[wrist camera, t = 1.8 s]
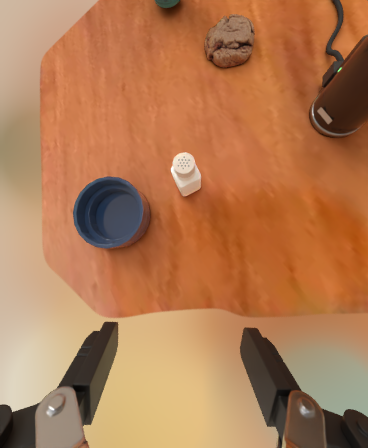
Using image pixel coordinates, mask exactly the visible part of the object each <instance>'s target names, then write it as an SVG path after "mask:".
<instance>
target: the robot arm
mask: <svg viewBox="0 0 368 448" xmlns="http://www.w3.org/2000/svg"><path fill="white" fill-rule="evenodd" d="M332 1H333V2H334V4H335V6H336V9H337V12H338V24H337V27H336V29H335V31H334V33H333V34H332V36H331V38H330V39H329V41H328V44H327V48H326V52H327V54H328V55H331V56H334V57H335V58H336V60H337V61H334V62H333V64H332V65H331V66H330V68H329V69H328V70H327V72H326V73H325V74H324V76H323V81H322V87H323V88H322V89H321V90H320V92H319V95H318V96H317V98H316V99H315V100H314V101H313V103H312V105H311V107H310V112H309V116H310V120H311V123H312V125H313V126H314V128H315V129H316V130H317V131H319V132H320V133H322V134H323V135H326V136H329V137H334V138H339V137H345V136H348V135H350V134H352V133H354V132H355V131H356V130H358V129H359V128H360V127H361V126H362V125H364V124H365V123H366V122H368V35H365V36H364V37H363V38H362V39H361V40H360V41H359V42H358V44H357V45H356V46H355V47H354V49H353V50H352V51H351V52H350V54H349V55H348V56H347V58H346V59H345V60H344V59H343V57H342V55H341V54H340V53H339V52H338V51H336V50H332V49H331V45H332V42H333V40H334V39H335V37H336V35H337V33H338V32H339V30H340V28H341V25H342V22H343V8H342V5H341V2H340V0H332ZM117 347H118V322H104V324H103V326H102V328H101V330H100V331H93V332H92V333H91V334H90V335H89V336H88V337H87V338H86V339H85V341H84V343H83V344H82V346H81V349H80V350H79V351H78V353H77V356H76V357H75V358H74V360H73V362H72V363H71V365H70V367H69V369H68V370H67V372H66V374H65V376H64V378H63V379H62V381H61V382H60V384H59V386H58V387H57V389H55V390H53V391H52V392H50V393H49V394H48V395H47V396H45V398H44V399H43V400H42V401H41V402H40V403H38V404H36V405H33V406H30V407H27V408H24V409H21V410H18V411H15V412H12V410H11V408H10V406H8V405H0V448H89V445H88V442H87V441H86V439H85V435H84V431H83V426H84V425H91V423H92V420H93V418H94V415H95V412H96V409H97V406H98V403H99V401H100V398H101V395H102V392H103V389H104V386H105V383H106V381H107V378H108V375H109V372H110V369H111V366H112V364H113V361H114V358H115V355H116V352H117ZM240 353H241V358H242V361H243V363H244V366H245V369H246V371H247V374H248V377H249V379H250V382H251V384H252V387H253V390H254V393H255V395H256V398H257V401H258V403H259V406H260V408H261V411H262V414H263V416H264V419H265V422H266V424H267V426H269V427H271V426H273V427H276V429H277V431H278V438H277V445H276V448H368V417H367V416H365V415H364V414H362V413H360V412H358V411H356V410H351V409H348V410H346V411H345V412H344V415H343V416H340V415H338V414H335V413H332V412H329V411H327V410H324V409H322V408H321V407H320V406H319V405H318V403H317V402H316V401H315V400H314V399H313V398H312V397H310V396H309V395H308V394H306V393H304V392H302V391H301V389H300V388H299V386H298V384H297V382H296V381H295V379H294V378H293V376H292V374H291V373H290V371H289V369H288V368H287V366H286V365H285V363H284V362H283V360H282V358H281V356H280V355H279V353H278V351H277V350H276V348H275V346H274V345H273V344H272V343H271V342H270V341H269V340H268V339H267V338H263V337H262V336H261V334H260V332H259V330H258V329H257V328H244V330H243V335H242V341H241V346H240Z"/></svg>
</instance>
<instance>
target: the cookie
mask: <svg viewBox="0 0 368 448" xmlns="http://www.w3.org/2000/svg"><path fill="white" fill-rule="evenodd" d="M254 35H255V33H254V26H253V23H252V22H251V21H250V20H249V19H248V18H246V17H244V16H242V15H237V14H231V15H230V16H229V19H227V17H226V16H224V17H223V18H222V19H221V20H220V21H219V23H218V24H217V25H216V26H215V27H212V28H210V29H209V31H208V33H207V36H206V39H205V52H206V54H207V59H209V60H212V61H214V64H216V65H218V66H220V67H224V68H226V67H231V66H236V65H238V64H239V65H240V64H243V63H244V62H245V61H246V60H247V59H248V57H249V56H250V55H251V53H252V48H253V43H254Z"/></svg>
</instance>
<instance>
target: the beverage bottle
mask: <svg viewBox="0 0 368 448" xmlns="http://www.w3.org/2000/svg"><path fill="white" fill-rule="evenodd" d="M179 1H180V0H155V2H156V4H157V5H158V6H160V7H162V8H170V7H173V6H175V5H176V4H177V3H178V2H179Z"/></svg>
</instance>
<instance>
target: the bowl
mask: <svg viewBox="0 0 368 448" xmlns="http://www.w3.org/2000/svg"><path fill="white" fill-rule="evenodd" d="M73 217H74V224H75V227H76V229H77V231H78V233H79V235H80V236H81V237H82V238H83V239H84V240H85V241H86V242H87V243H89V244H91V245H93V246H95V247H99V248H121V247H126V246H129V245H131V244H133V243H135V242H137V241H138V240H139V239H140V238H141V237H142V236H143V234H144V233H145V231H146V229H147V227H148V225H149V220H150V209H149V204H148V202H147V200H146V198H145V197H144V195H143V194H142V193H141V192H140V191H138V190H137V189H136V188H135V187H134V186H133V185H132V184H130V183H129V182H128V181H126V180H123V179H121V178H118V177H104V178H99V179H96V180H95V181H93V182H91V183H89V184H88V185H87V186H86V187H85V188H84V189H83V190H82V191H81V192H80V194H79V196H78V198H77V200H76V202H75V206H74V211H73Z"/></svg>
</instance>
